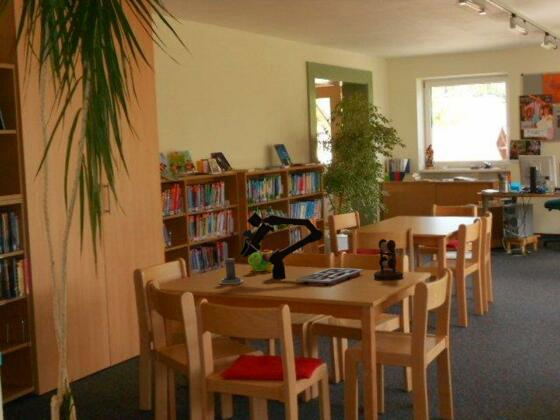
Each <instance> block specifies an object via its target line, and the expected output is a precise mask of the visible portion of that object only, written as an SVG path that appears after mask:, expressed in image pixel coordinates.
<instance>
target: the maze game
mask: <svg viewBox="0 0 560 420" xmlns="http://www.w3.org/2000/svg"><path fill="white" fill-rule="evenodd" d="M363 270H364V269H362V268H361V269H360V268H342V267H341V268H340V267H339V268H338V267H329V268H326V269H324V270H323V269H322V270H320V271H317V272H313V273H312V274H311V273H310V274H308V275H305V276H302V277H299V278H296V279H295V280H296V282H297V281H298V282H307V285H308V286H323V287H324V286H325V285H327V286H333V285H336V284H339V283H340V282H343V281H346V280H348V279H354V278H356V277H359V276H361V272H363Z"/></svg>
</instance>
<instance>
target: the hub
mask: <svg viewBox="0 0 560 420" xmlns="http://www.w3.org/2000/svg"><path fill="white" fill-rule="evenodd" d="M243 281H244V280H243V279H241V276H236V279H234V280H227V277H224V278H223V277H222V278H221V280H220V281H219V282H218V284H219V285H221V284H225V285H224V286H229V285H228V284H234V285H238V283H240V284H243V283H244V282H243ZM242 282H243V283H242ZM226 284H227V285H226Z"/></svg>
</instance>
